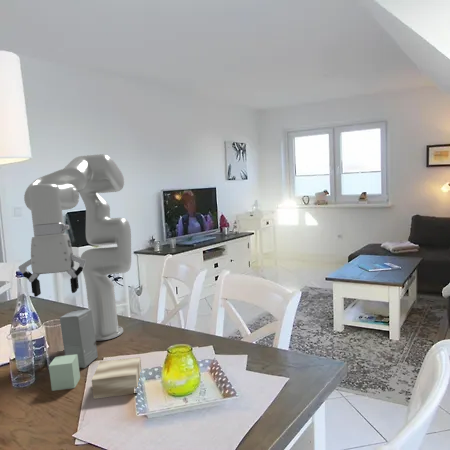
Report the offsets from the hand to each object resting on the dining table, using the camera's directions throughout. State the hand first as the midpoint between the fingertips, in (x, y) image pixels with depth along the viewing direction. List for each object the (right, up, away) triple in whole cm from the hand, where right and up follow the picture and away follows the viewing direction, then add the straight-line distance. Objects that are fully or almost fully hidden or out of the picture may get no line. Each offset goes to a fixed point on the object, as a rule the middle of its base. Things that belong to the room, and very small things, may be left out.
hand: (56, 293), depth 114 cm
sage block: (+2, -25, +2) cm, 26 cm away
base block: (+17, -24, -1) cm, 30 cm away
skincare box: (+1, -24, +16) cm, 29 cm away
